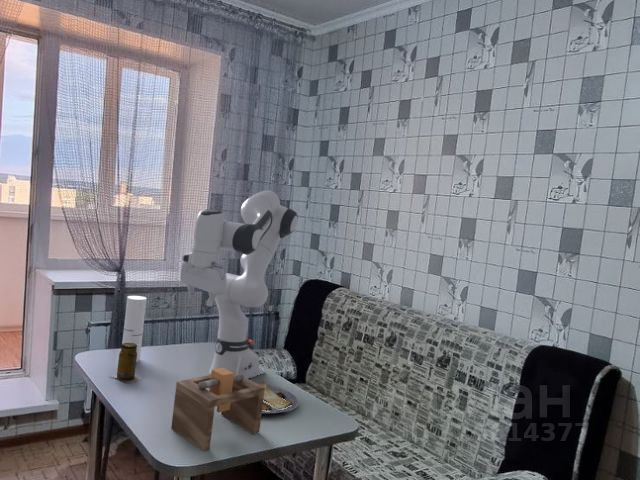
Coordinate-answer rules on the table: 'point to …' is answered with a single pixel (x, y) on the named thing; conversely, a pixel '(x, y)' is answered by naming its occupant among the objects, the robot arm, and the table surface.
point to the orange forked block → (222, 385)
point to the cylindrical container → (134, 321)
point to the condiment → (127, 363)
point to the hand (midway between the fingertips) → (200, 302)
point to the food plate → (278, 399)
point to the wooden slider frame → (199, 406)
